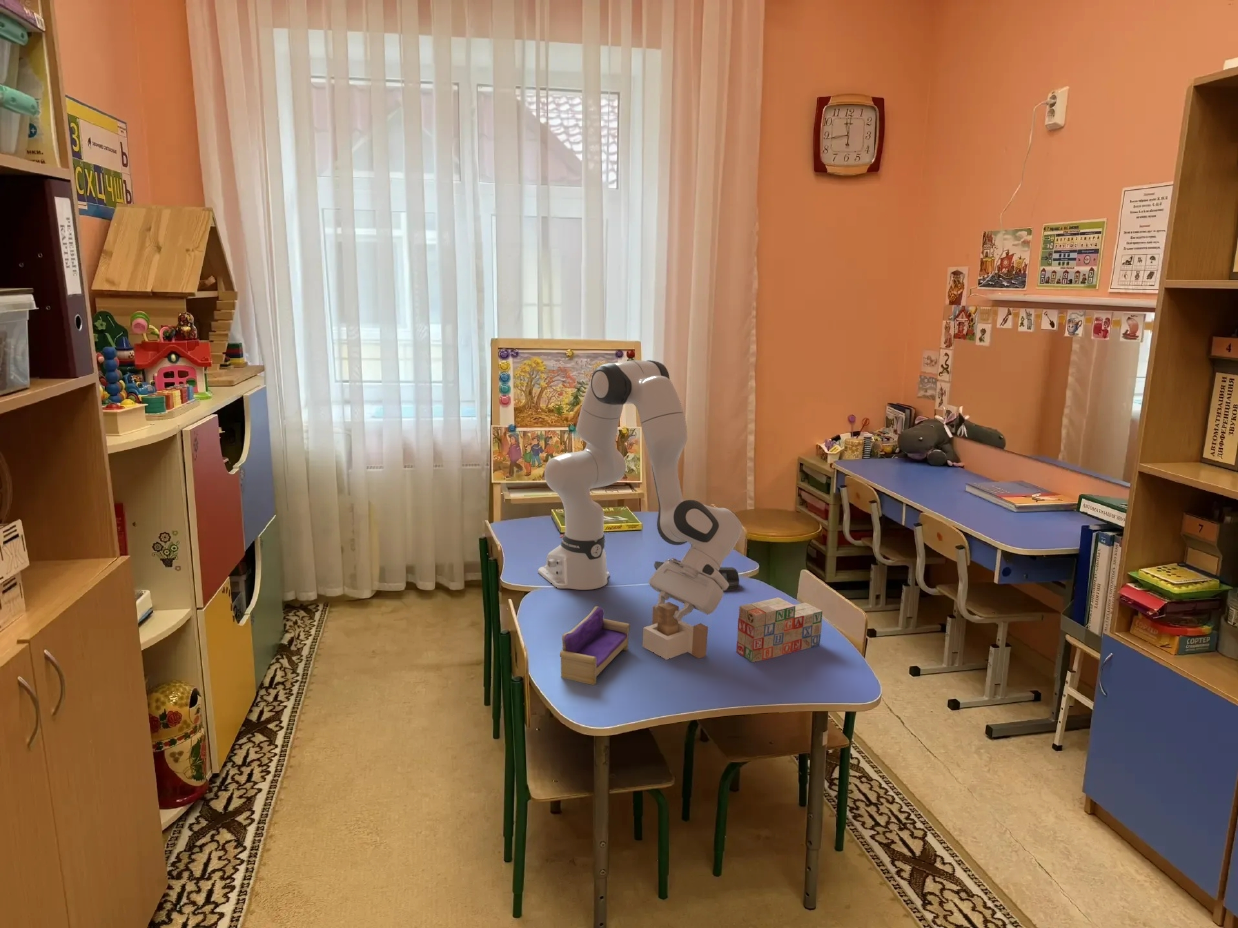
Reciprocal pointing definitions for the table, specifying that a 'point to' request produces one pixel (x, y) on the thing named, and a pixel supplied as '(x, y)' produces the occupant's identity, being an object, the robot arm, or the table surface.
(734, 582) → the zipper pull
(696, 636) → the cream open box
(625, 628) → the toy sofa
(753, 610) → the stack of blocks
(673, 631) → the wooden block
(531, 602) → the table surface
